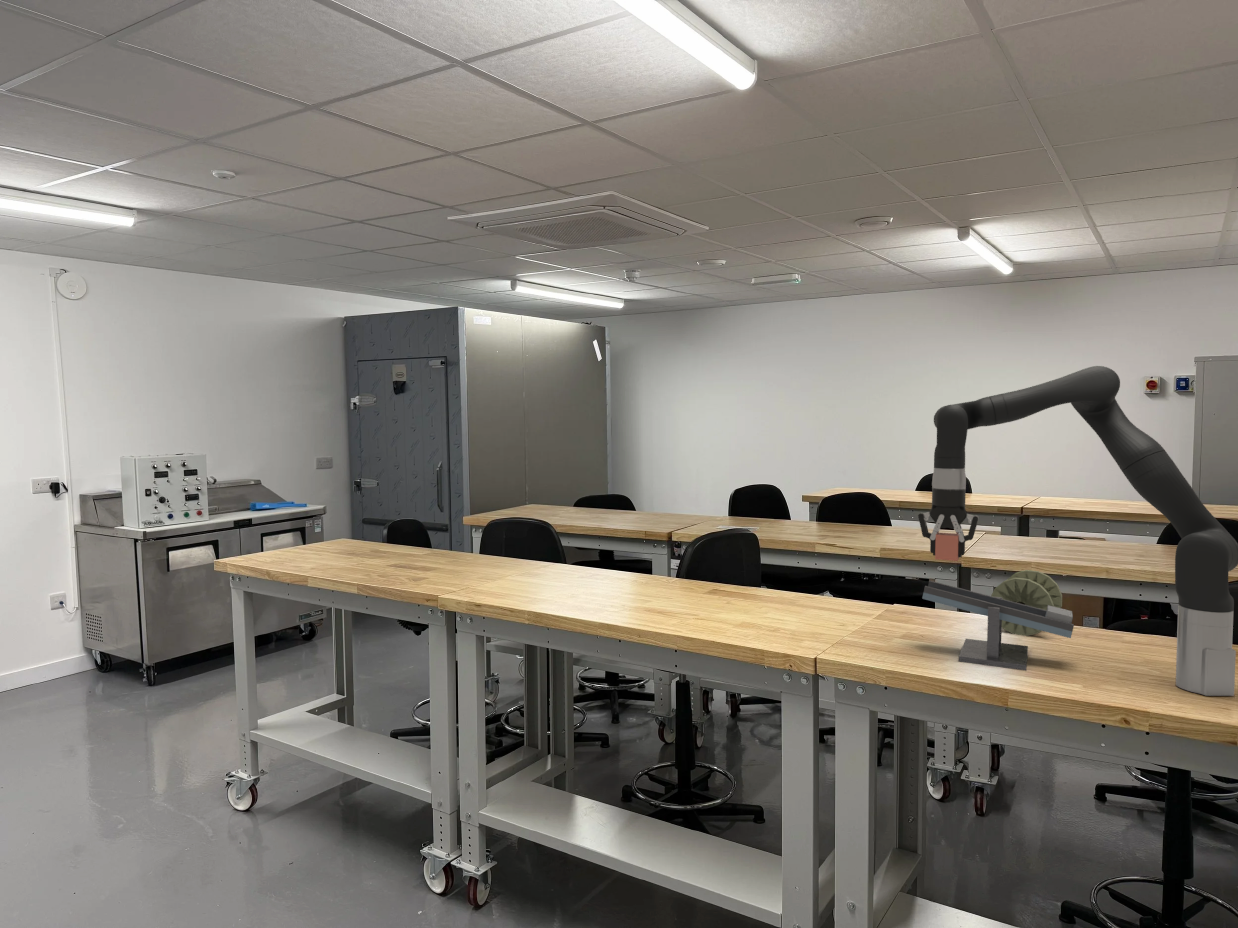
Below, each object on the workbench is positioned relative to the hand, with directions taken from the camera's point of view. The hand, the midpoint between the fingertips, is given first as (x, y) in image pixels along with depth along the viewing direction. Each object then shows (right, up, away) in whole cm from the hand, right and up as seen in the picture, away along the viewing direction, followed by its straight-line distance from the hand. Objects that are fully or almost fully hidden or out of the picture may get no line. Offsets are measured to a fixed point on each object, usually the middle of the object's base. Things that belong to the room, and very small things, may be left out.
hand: (947, 555), depth 189 cm
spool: (+31, -23, +23) cm, 45 cm away
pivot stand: (+10, -24, -4) cm, 26 cm away
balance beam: (+10, -13, -4) cm, 17 cm away
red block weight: (0, -1, 0) cm, 1 cm away
